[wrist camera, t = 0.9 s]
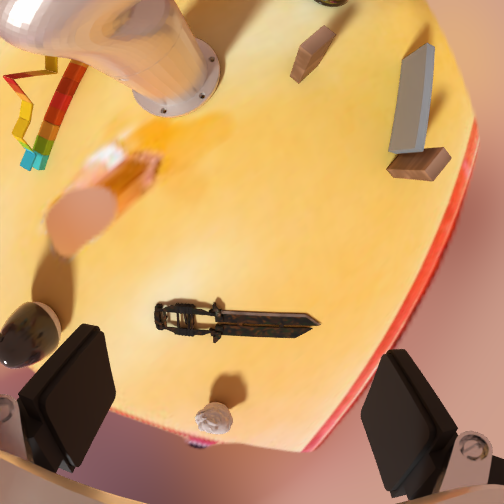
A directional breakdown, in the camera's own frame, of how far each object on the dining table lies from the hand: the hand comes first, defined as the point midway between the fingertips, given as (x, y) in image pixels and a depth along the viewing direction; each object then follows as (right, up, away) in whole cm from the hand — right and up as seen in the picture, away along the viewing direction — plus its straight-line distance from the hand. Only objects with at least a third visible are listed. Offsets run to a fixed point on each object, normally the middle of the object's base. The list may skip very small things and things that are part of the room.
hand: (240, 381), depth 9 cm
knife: (-2, -6, +36) cm, 37 cm away
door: (+22, +25, +26) cm, 42 cm away
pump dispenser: (-38, -8, +37) cm, 54 cm away
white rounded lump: (-6, -23, +41) cm, 47 cm away
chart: (-28, +31, +27) cm, 50 cm away
